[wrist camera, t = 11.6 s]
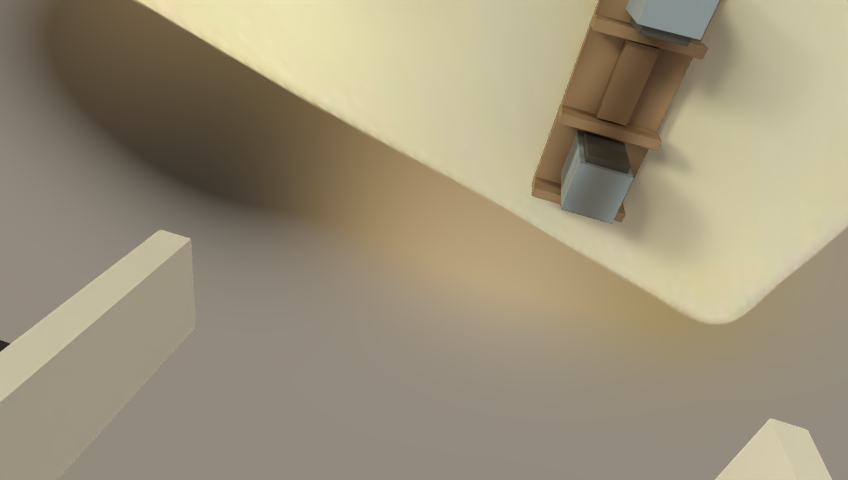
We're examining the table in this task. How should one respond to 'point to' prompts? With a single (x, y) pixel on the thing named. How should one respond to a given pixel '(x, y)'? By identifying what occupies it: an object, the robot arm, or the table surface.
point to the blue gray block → (671, 18)
